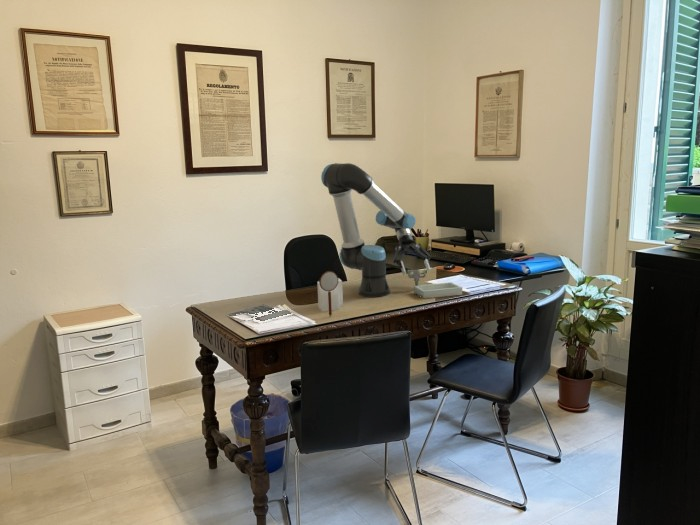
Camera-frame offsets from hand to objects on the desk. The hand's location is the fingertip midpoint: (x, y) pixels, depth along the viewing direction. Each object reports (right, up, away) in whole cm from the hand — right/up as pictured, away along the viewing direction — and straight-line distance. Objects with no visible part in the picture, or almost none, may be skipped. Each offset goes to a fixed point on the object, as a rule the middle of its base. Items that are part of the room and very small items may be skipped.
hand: (416, 272), depth 282 cm
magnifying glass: (-42, -19, -44) cm, 64 cm away
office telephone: (-73, -19, -37) cm, 84 cm away
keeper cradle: (+9, -10, -12) cm, 18 cm away
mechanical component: (0, -9, -2) cm, 9 cm away
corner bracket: (-42, -16, -29) cm, 54 cm away
